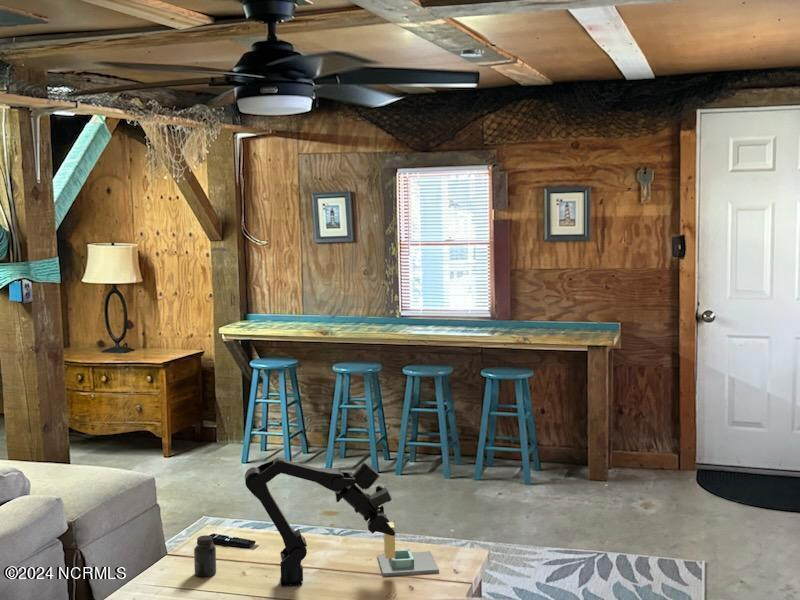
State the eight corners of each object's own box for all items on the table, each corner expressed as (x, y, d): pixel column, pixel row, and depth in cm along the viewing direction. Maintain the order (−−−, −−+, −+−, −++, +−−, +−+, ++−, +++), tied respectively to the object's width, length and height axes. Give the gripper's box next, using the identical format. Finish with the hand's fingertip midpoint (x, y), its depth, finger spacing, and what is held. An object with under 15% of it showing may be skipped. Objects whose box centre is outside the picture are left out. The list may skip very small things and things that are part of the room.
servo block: (385, 558, 282) (385, 527, 281) (384, 552, 287) (383, 522, 286) (395, 558, 282) (394, 527, 281) (393, 552, 287) (392, 521, 286)
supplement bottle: (190, 576, 285) (189, 540, 284) (202, 568, 291) (201, 532, 290) (209, 579, 282) (208, 542, 281) (220, 571, 289) (219, 535, 288)
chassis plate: (383, 576, 284) (382, 565, 283) (377, 557, 299) (377, 547, 299) (438, 572, 286) (438, 562, 286) (430, 554, 302) (430, 544, 302)
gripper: (378, 490, 272) (415, 523, 275) (373, 472, 291) (407, 503, 293) (353, 516, 272) (390, 549, 274) (349, 497, 291) (384, 528, 293)
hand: (393, 531), depth 284 cm, fingers closed on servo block, 5 cm apart
